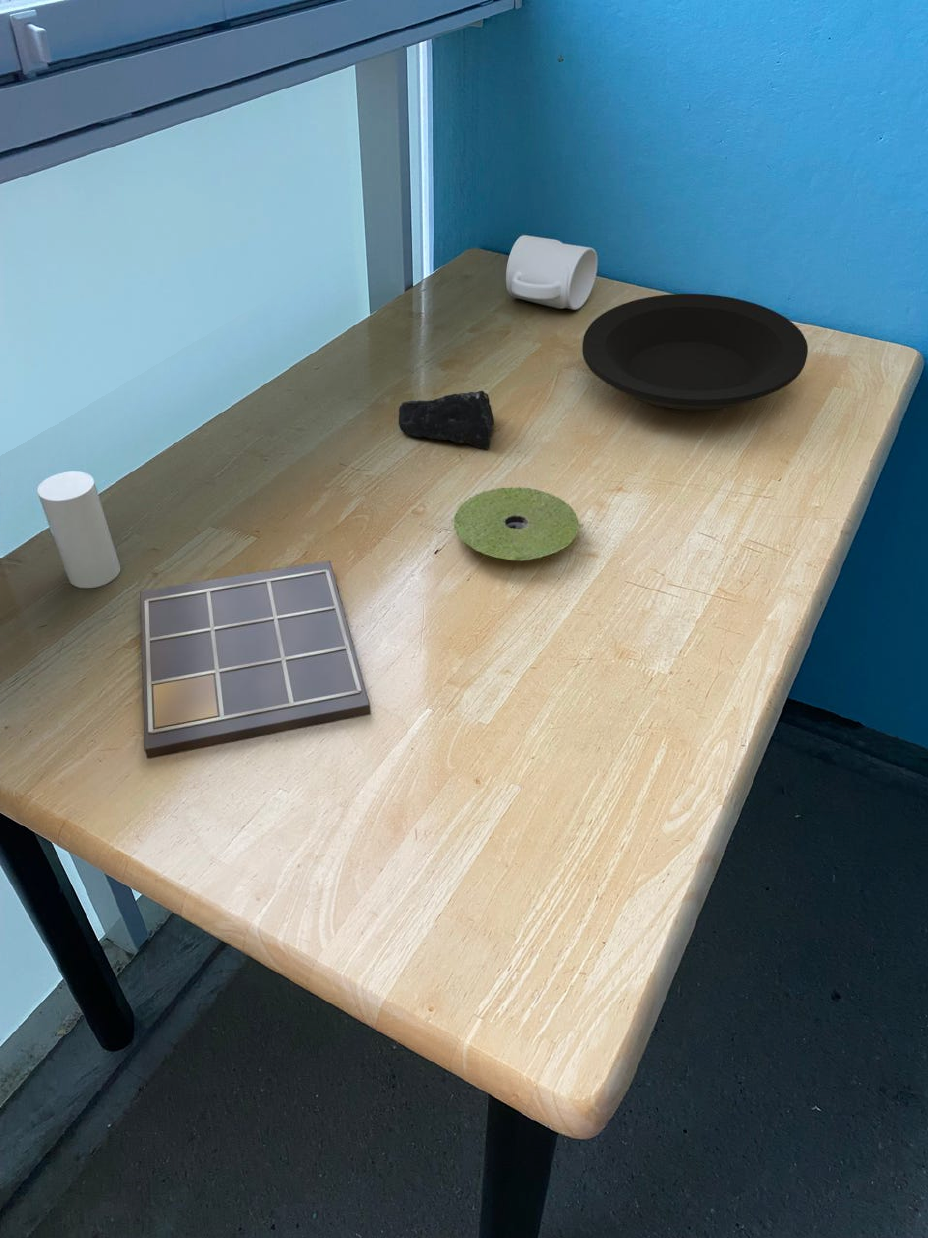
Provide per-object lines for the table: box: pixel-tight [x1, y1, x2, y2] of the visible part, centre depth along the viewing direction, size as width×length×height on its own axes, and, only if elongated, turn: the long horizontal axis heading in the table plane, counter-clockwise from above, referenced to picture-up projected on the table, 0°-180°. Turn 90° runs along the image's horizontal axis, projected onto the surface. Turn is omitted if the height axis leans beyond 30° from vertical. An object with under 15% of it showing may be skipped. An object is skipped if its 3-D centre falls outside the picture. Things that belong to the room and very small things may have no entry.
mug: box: [505, 234, 598, 311], centre depth 122 cm, size 12×9×8 cm
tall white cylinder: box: [36, 470, 121, 589], centre depth 78 cm, size 4×4×9 cm
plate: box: [581, 293, 809, 411], centre depth 105 cm, size 28×24×6 cm
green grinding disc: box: [453, 486, 580, 561], centre depth 84 cm, size 11×11×2 cm
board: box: [139, 560, 372, 759], centre depth 73 cm, size 16×18×1 cm
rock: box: [398, 390, 495, 451], centre depth 98 cm, size 7×10×6 cm
